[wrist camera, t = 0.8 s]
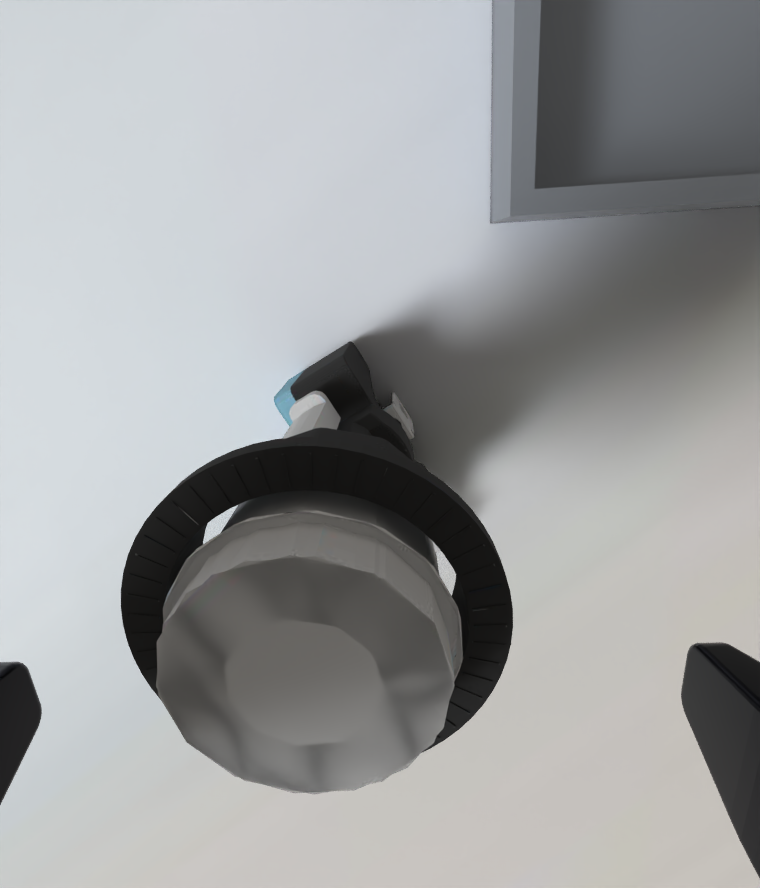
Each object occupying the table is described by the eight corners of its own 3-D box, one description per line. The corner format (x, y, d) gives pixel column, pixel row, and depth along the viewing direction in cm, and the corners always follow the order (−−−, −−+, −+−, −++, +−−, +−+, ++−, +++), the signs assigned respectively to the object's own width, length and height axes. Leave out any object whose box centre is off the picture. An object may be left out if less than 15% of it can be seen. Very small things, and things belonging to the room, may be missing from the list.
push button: (501, 491, 16) (648, 815, 7) (356, 567, 17) (308, 939, 8) (389, 301, 14) (375, 382, 5) (234, 399, 15) (-18, 619, 6)
